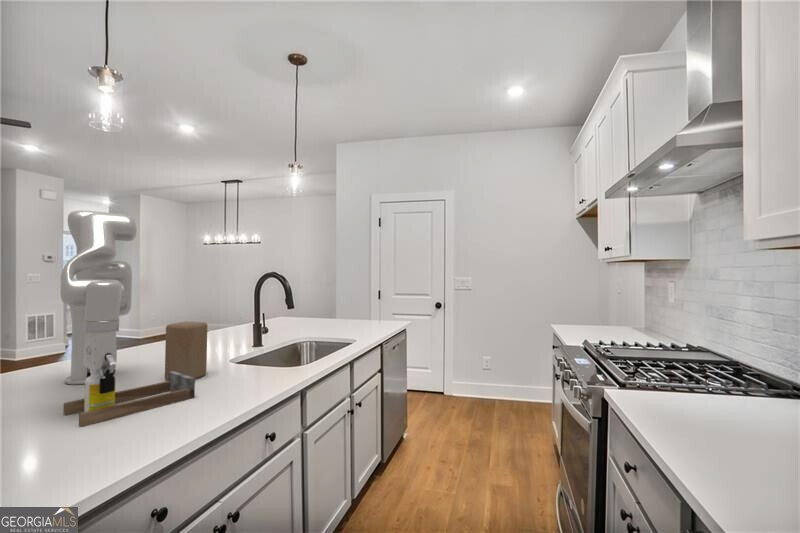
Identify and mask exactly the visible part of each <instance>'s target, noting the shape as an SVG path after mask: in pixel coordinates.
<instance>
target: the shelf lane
mask: <svg viewBox="0 0 800 533" xmlns="http://www.w3.org/2000/svg"><path fill="white" fill-rule="evenodd" d="M195 387H196V379H195V378H193V377H190V376H187V375H184V374H181V373H178V372H175V371H171V372H169V375H168V380H166V381H163V382H156V383H153V384H149V385H143V386H137V387H134V388H129V389H124V390H120V391H115V405H114V406H109V407H105V408H101V409H97V410H92V411H88V412H84V398H82V399H77V400H72V401H67V402H64V403H63V409H62V410H63V414H62V415H63V416H68V415H74V414H78V426H79V427H80V428H83V427H87V426H90V424H91V425H93V424H98V423H102V422H106V421H109V419H110V420H114V419H116V418H117V417H118V418H121V416H122V417H125V416H129V415H133V414H136V413H141V412H144V411H148V410H152V409H156V408H159V407H163V406H167V405H171V404H175V403H179V402H183V401H186V400H190V399H194V398H195V394H196V393H195V392H196V390H195V389H196V388H195ZM113 418H114V419H113ZM118 418H117V419H118ZM105 420H106V421H105ZM101 421H102V422H101ZM86 425H87V426H86Z"/></svg>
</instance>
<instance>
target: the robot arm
mask: <svg viewBox="0 0 800 533" xmlns="http://www.w3.org/2000/svg"><path fill="white" fill-rule="evenodd" d="M67 226H68V230H69V233H70V235H71V236H72V239H73V241H74V244H75V247H76V252H75V253H76V254H75V255H74V256H72V257H71V258H70V259H69V260H68V261H67V262H66V264H64V266H63V268H62V270H61V275H60V300H61V301H62V303H63V304H64V305H66V306H68V307H69V310H70V316H71V317H70V318H71V352H70V355H71V356H70V358H71V359H70V360H71V361H70V376H68V377H66V378H65V379H64V383H65V384H67V385H85V380H86V378H88V377H89V376H91V373H90V369H91V370H93V371H97V370H98V369H100V373H101V379H100V389H99V393H100V394H103V393H108V392H113V391H114V390H115V391H116V370H117V369H116V366H117V358H118V357H117V355H118V352H117V350H118V347H117V332H119V331H120V317H121V316H126V315H128V314H129V313H130V311H131V307H132V295H133V294H132V291H133V290H132V286H133V284H132V283H133V273H132V272H133V271H132V267H131V265H130V263H128V262H127V261H123V260H114V258H115V257H116V254H117V252H116V251H117V250H116V241H122V242H124V241H125V242H132V241H133V240H134V239H135V238H136V236H137V223H136V221H135V219H134V218H133V217H132V216H130V215H128V214H123V213H115V212H105V211H97V210H74V211H70V212H69V213H68V215H67ZM75 277H76V278H75ZM104 366H105V367H104ZM104 370H106V372H104Z"/></svg>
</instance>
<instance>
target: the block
mask: <svg viewBox="0 0 800 533" xmlns="http://www.w3.org/2000/svg"><path fill="white" fill-rule="evenodd" d="M164 348H165V351H164V352H165V355H164V357H165V358H164V359H165V360H164V379H165V380H166V381H168V375H169V372H171V371H175V372H178V373H181V374H184V375H187V376H190V377H193V378H195V380H196V379H199V378H201V377H204V376H206V374H207V363H208V362H207V361H208V360H207V357H208V352H207V351H208V323H207V322H205V321H204V322H201V321H182V322H181V321H180V322H176V323H169V324H167V325H166V326H165V346H164Z"/></svg>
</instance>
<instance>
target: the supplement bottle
mask: <svg viewBox="0 0 800 533" xmlns="http://www.w3.org/2000/svg"><path fill="white" fill-rule="evenodd" d="M104 367H105V366H104ZM104 372H106V370H104ZM90 373H91V376H89V377H88V378H86V380H85V384H84V398H83V399H84V411H83V413H84V412H88V411H92V410H97V409H101V408H105V407H109V406H114V405H116V404H115V392H116V389H115V390H114V391H113V392H108V393H103V394H100V393H99V389H100V379H101V373H100V369H98V370H97V371H93V370H91V369H90Z"/></svg>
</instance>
